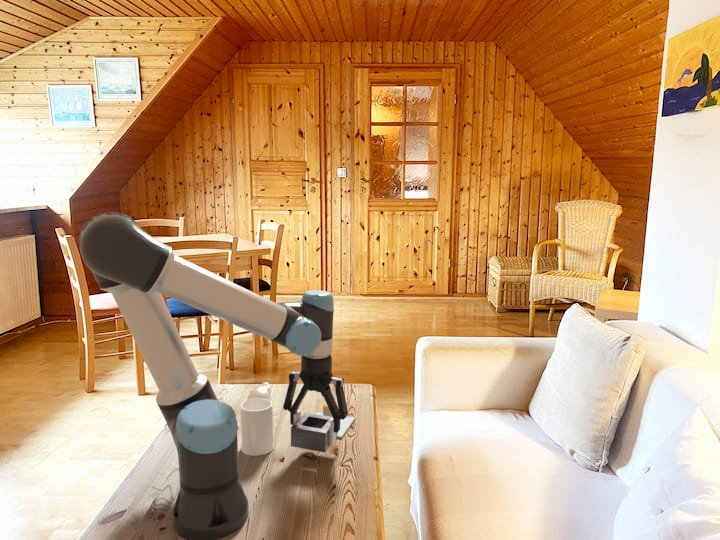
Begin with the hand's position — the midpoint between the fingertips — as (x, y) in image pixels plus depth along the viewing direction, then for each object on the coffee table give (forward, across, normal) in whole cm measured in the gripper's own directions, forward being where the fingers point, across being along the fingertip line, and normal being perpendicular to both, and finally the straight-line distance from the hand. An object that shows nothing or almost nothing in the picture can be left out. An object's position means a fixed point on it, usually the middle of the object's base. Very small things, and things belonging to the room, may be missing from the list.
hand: (314, 440), depth 137 cm
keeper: (+4, +2, -17) cm, 17 cm away
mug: (+5, +15, +2) cm, 16 cm away
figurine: (+5, +26, -23) cm, 35 cm away
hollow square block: (0, 0, 0) cm, 0 cm away
